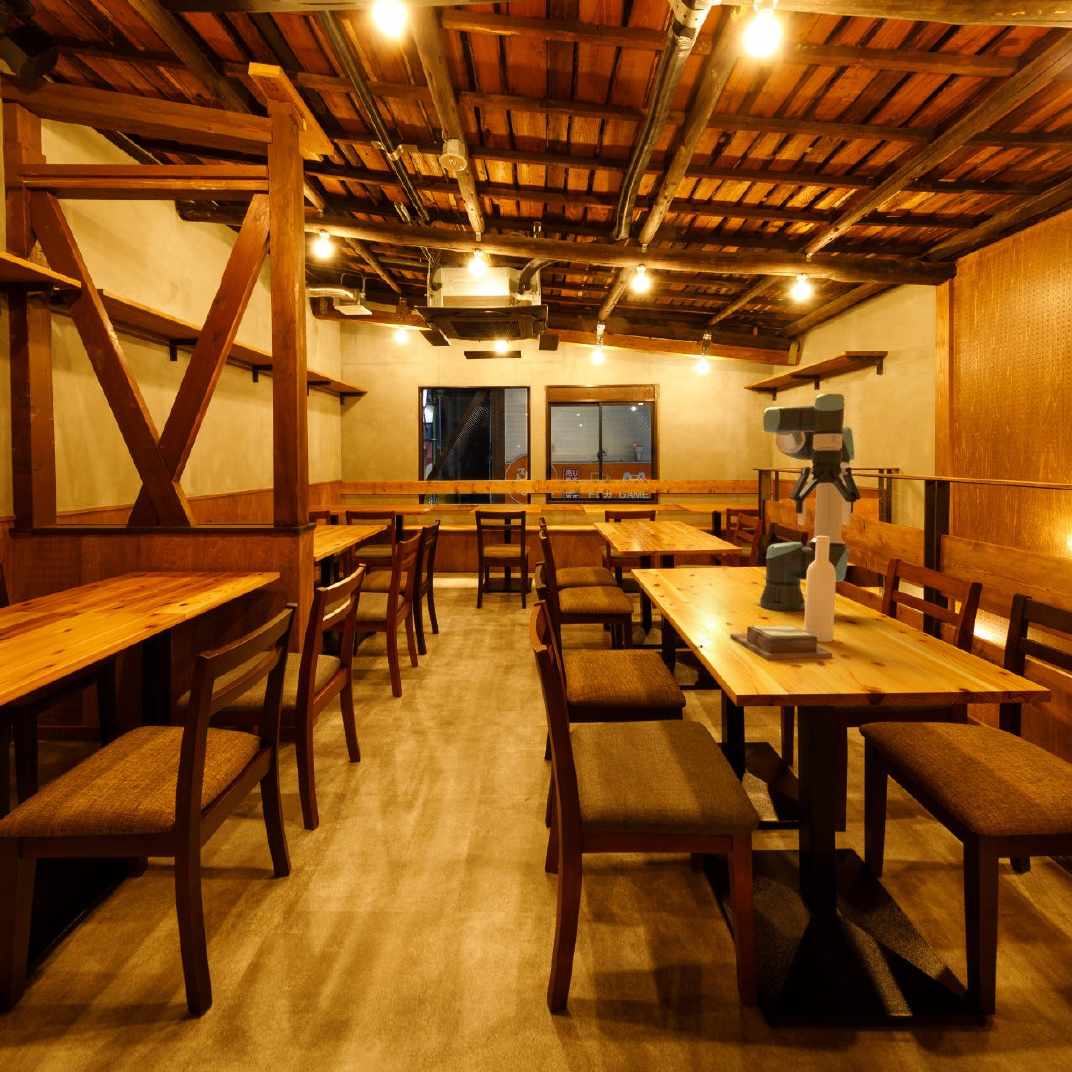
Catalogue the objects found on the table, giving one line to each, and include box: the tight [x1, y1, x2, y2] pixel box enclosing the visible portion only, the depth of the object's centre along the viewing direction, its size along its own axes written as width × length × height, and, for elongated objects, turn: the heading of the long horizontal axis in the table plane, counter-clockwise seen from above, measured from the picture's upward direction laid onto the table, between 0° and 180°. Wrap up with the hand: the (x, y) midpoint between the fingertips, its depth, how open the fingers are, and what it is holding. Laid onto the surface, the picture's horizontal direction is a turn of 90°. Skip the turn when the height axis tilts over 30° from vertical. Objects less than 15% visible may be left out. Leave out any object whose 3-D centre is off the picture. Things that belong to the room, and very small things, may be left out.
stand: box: [729, 624, 833, 661], centre depth 174 cm, size 22×18×6 cm
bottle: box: [803, 536, 837, 643], centre depth 182 cm, size 8×8×30 cm
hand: (823, 525), depth 180 cm, fingers open, 13 cm apart
